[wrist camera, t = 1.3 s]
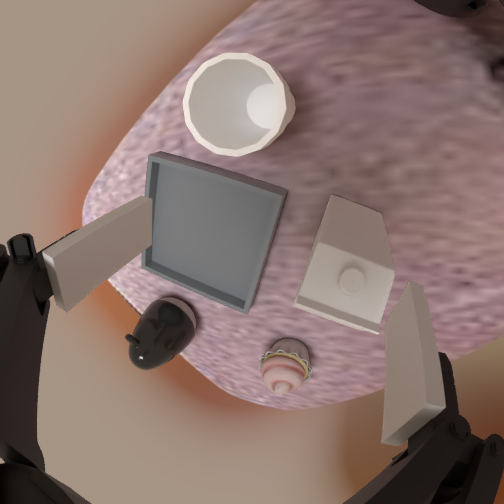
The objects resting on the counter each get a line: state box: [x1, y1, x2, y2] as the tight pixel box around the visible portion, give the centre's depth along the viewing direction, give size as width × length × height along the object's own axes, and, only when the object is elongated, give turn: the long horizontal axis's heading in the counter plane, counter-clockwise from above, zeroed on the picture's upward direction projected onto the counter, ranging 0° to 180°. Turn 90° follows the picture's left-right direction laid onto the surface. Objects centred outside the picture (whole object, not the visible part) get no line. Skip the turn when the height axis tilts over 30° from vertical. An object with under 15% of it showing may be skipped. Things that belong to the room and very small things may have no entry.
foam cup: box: [183, 53, 296, 157], centre depth 28 cm, size 10×9×13 cm
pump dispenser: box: [125, 298, 196, 370], centre depth 48 cm, size 10×10×15 cm
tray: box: [142, 151, 288, 314], centre depth 43 cm, size 20×20×3 cm
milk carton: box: [293, 195, 395, 334], centre depth 29 cm, size 7×7×19 cm
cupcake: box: [258, 338, 313, 394], centre depth 46 cm, size 9×9×10 cm
